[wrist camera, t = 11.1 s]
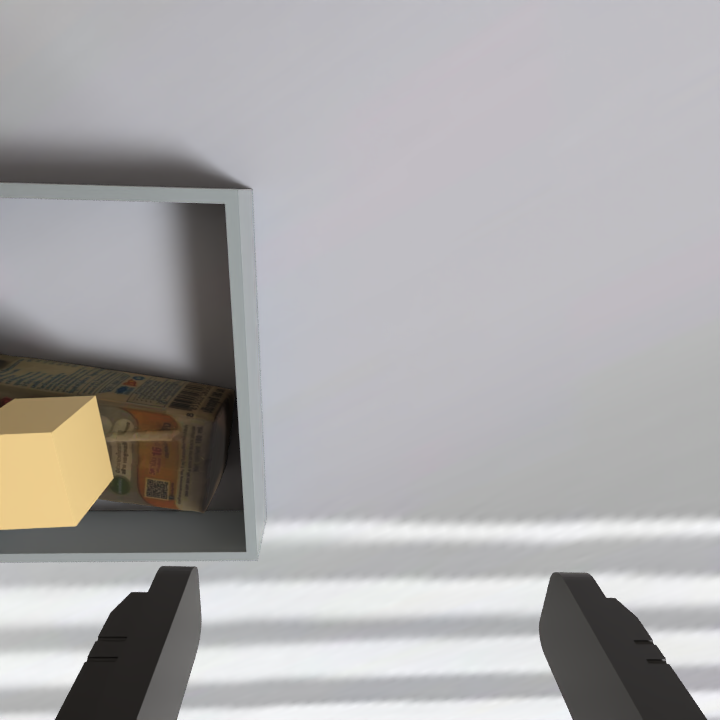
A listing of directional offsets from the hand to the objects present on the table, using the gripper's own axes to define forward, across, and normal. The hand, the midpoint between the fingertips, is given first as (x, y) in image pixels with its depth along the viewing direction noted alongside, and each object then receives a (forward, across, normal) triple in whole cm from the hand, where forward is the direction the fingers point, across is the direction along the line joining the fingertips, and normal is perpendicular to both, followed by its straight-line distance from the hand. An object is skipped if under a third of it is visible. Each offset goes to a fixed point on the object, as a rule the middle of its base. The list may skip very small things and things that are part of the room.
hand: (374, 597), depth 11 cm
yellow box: (+20, +18, +8) cm, 28 cm away
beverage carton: (+27, +18, +9) cm, 34 cm away
